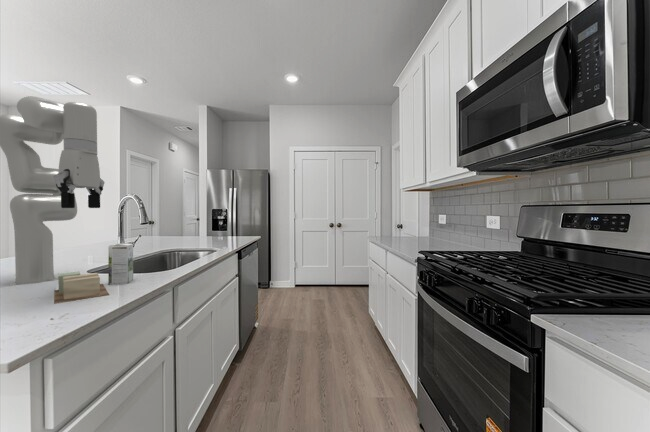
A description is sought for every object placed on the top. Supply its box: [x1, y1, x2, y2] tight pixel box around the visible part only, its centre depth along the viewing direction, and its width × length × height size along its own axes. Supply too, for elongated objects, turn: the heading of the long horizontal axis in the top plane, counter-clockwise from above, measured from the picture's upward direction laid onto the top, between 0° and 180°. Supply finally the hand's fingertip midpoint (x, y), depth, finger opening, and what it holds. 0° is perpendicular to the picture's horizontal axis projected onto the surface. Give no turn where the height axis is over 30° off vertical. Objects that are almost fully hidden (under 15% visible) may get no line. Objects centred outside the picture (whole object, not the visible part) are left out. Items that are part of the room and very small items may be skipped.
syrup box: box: [107, 242, 134, 286], centre depth 102 cm, size 6×6×14 cm
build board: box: [53, 283, 110, 305], centre depth 90 cm, size 18×12×2 cm, turn 42°
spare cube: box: [57, 271, 81, 293], centre depth 93 cm, size 5×5×5 cm
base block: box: [63, 272, 101, 300], centre depth 88 cm, size 8×8×5 cm
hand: (81, 208), depth 87 cm, fingers open, 9 cm apart
